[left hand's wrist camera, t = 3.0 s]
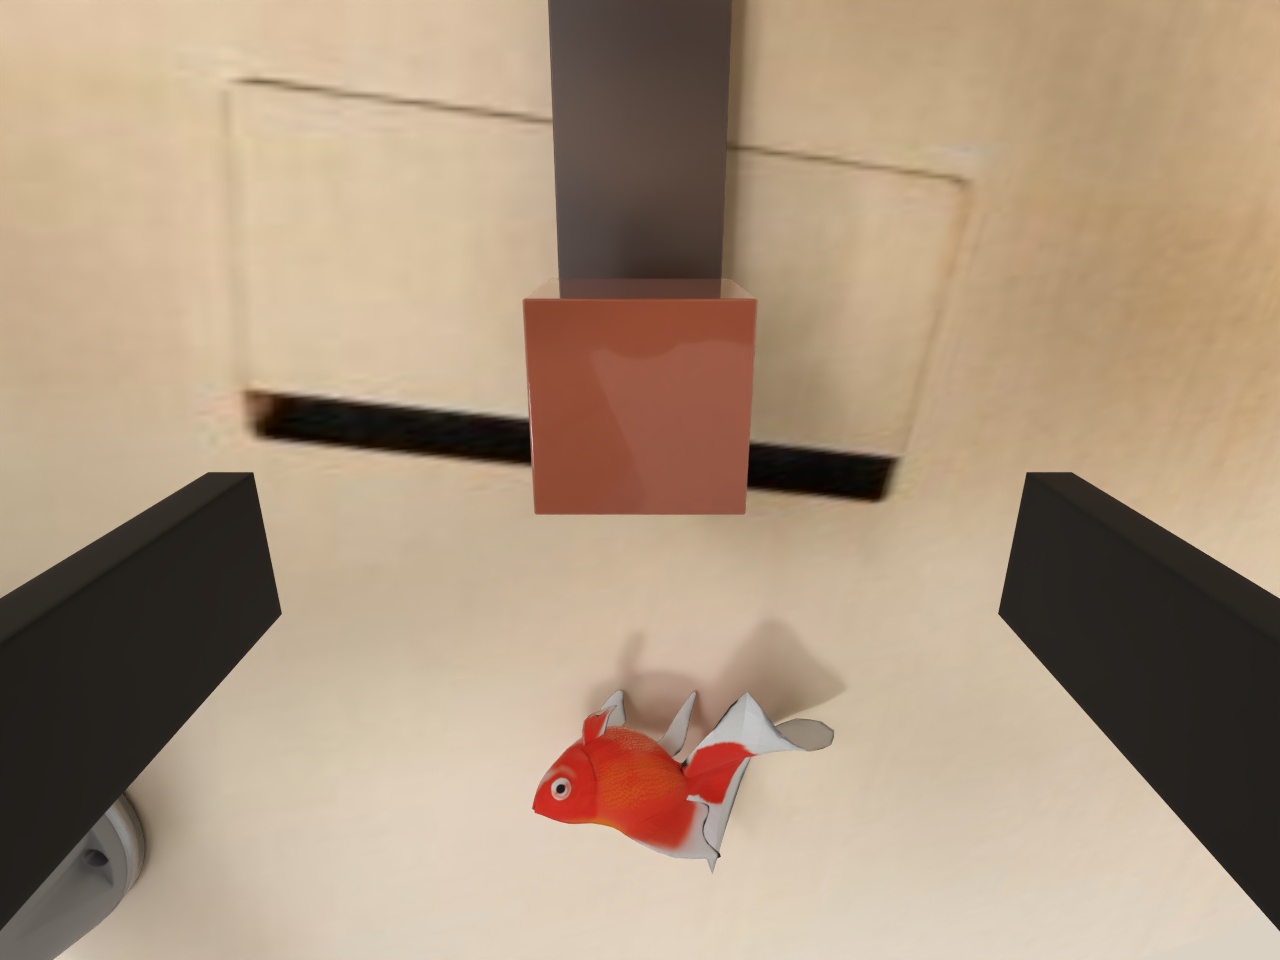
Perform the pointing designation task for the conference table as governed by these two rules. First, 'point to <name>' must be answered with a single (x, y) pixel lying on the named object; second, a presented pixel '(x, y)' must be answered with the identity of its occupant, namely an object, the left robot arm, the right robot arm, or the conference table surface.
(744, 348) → the cap block
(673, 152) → the walnut stand
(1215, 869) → the conference table surface
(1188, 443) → the conference table surface
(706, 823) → the fish
